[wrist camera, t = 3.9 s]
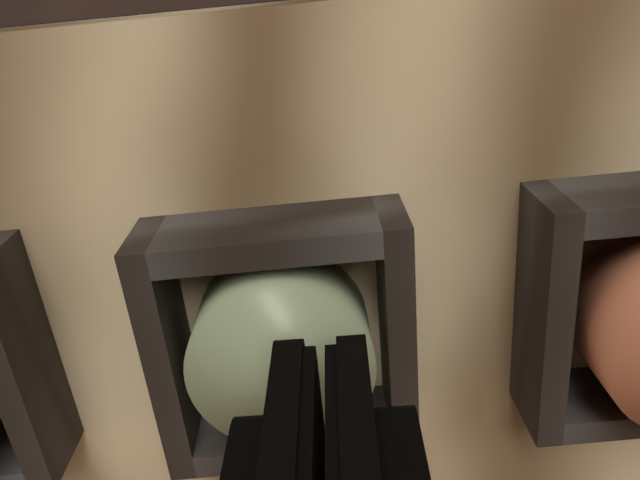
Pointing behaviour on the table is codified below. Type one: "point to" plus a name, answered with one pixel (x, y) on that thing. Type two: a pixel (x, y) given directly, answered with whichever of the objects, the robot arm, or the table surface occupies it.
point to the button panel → (316, 219)
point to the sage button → (265, 333)
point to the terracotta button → (612, 322)
